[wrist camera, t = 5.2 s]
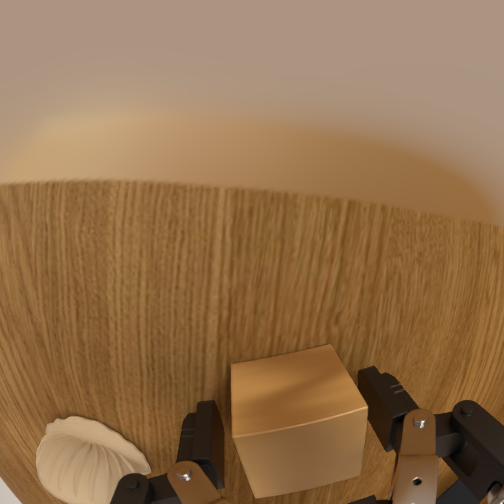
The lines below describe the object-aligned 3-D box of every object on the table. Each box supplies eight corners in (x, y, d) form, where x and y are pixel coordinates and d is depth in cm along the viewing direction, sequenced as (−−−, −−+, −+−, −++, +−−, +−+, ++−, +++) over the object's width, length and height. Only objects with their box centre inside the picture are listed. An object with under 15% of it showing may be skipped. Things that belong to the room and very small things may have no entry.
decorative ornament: (42, 399, 13) (1, 458, 7) (177, 441, 13) (165, 520, 8) (54, 441, 13) (25, 496, 8) (174, 477, 14) (165, 545, 9)
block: (330, 342, 13) (369, 406, 8) (334, 412, 14) (361, 475, 9) (230, 363, 13) (231, 437, 8) (248, 430, 14) (255, 499, 9)
